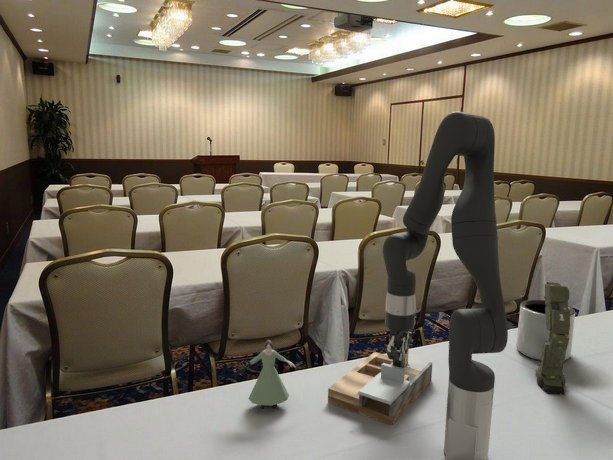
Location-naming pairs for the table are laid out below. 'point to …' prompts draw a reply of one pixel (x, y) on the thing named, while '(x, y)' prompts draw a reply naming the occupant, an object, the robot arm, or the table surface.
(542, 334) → the planter
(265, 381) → the character figurine
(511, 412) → the table surface
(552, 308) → the mechanical leg
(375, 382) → the lid
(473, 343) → the robot arm
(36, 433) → the table surface
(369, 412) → the board
